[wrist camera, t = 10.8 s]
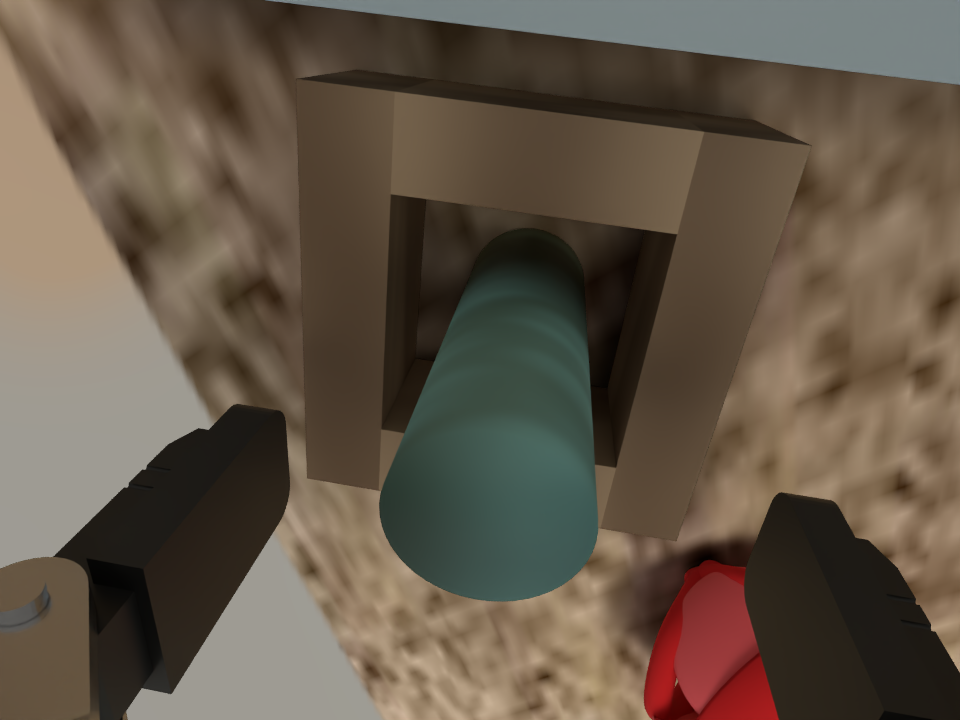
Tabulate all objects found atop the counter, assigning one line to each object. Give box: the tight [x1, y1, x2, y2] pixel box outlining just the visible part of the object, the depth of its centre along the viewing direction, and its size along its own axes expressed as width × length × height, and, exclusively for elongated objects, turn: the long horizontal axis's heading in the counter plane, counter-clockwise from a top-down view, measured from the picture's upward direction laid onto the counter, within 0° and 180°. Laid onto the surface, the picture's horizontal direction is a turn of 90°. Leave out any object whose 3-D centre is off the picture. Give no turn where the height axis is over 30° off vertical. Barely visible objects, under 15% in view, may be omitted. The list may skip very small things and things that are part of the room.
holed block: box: [296, 70, 812, 541], centre depth 16 cm, size 10×10×4 cm
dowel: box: [379, 228, 598, 601], centre depth 14 cm, size 3×3×10 cm
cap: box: [644, 560, 779, 720], centre depth 20 cm, size 8×6×6 cm
